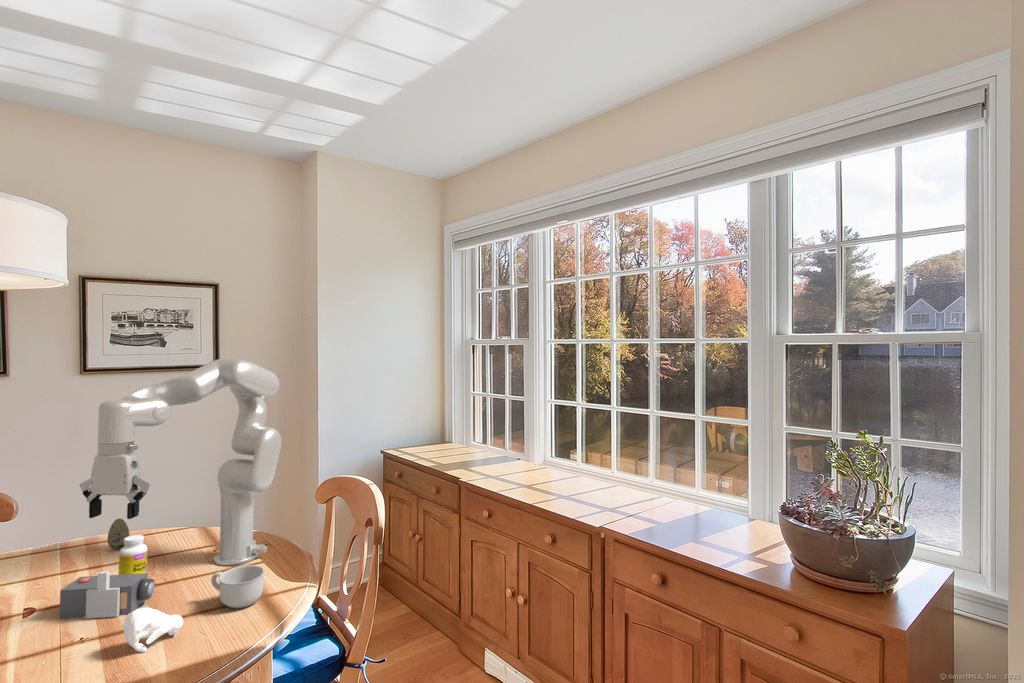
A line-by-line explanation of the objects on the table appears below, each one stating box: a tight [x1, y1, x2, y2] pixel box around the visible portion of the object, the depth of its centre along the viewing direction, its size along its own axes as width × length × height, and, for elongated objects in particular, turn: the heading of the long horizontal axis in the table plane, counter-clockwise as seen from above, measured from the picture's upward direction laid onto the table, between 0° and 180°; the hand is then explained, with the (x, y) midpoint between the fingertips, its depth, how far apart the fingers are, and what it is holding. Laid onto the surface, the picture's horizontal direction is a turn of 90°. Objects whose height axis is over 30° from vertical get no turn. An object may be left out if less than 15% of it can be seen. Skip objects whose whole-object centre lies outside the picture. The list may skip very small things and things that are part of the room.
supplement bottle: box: [118, 534, 149, 575], centre depth 155 cm, size 7×7×13 cm
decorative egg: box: [106, 518, 131, 550], centre depth 180 cm, size 6×6×10 cm
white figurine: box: [122, 607, 184, 653], centre depth 124 cm, size 6×8×12 cm
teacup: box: [210, 564, 265, 609], centre depth 144 cm, size 14×11×8 cm
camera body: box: [59, 573, 155, 620], centre depth 139 cm, size 18×8×8 cm, turn 100°
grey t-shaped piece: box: [85, 570, 120, 619], centre depth 135 cm, size 7×1×11 cm, turn 100°
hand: (114, 516), depth 137 cm, fingers open, 9 cm apart
